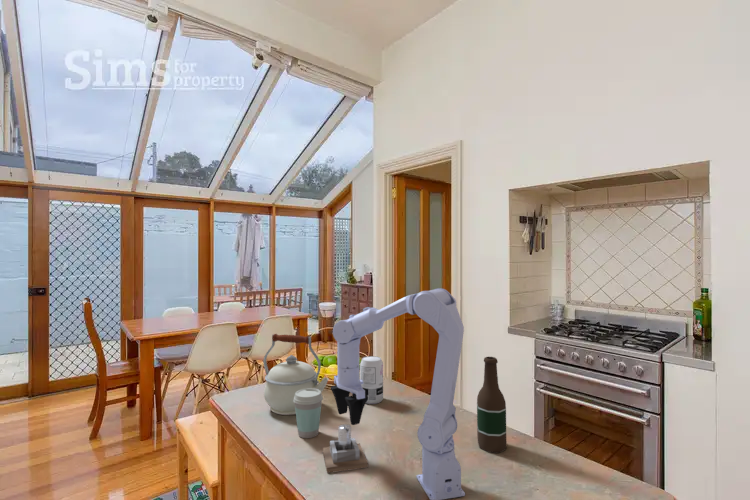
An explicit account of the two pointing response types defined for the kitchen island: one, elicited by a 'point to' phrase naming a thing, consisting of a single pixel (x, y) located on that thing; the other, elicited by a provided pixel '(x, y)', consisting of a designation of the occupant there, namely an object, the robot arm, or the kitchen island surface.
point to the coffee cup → (308, 411)
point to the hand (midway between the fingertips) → (348, 418)
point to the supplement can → (372, 378)
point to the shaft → (344, 437)
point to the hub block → (344, 457)
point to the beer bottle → (491, 411)
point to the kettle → (289, 377)
